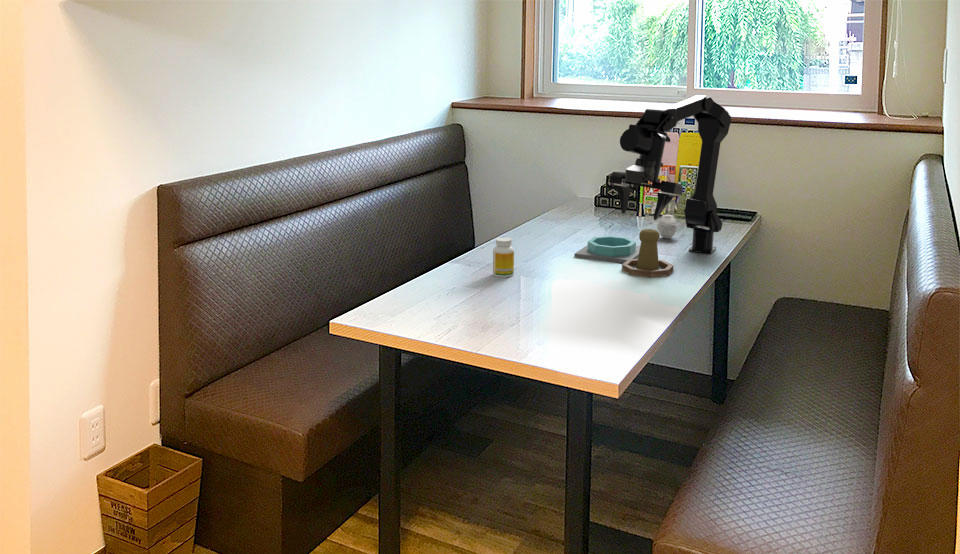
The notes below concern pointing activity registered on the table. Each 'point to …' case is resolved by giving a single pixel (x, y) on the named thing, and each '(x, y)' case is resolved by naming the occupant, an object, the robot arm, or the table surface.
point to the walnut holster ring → (647, 273)
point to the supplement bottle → (503, 258)
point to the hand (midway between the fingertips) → (638, 216)
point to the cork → (648, 250)
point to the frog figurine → (667, 226)
